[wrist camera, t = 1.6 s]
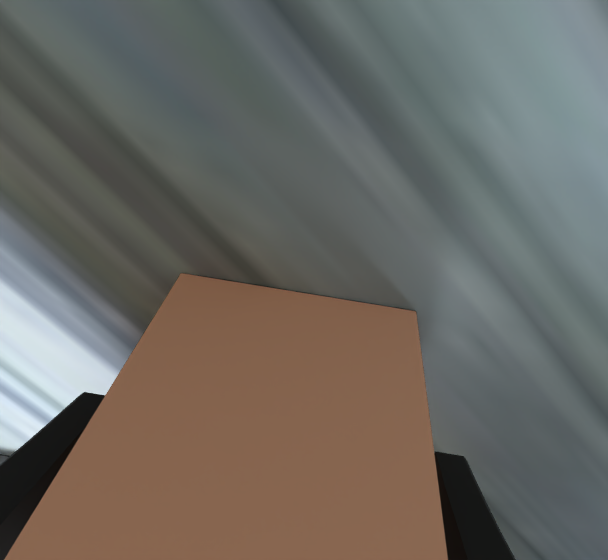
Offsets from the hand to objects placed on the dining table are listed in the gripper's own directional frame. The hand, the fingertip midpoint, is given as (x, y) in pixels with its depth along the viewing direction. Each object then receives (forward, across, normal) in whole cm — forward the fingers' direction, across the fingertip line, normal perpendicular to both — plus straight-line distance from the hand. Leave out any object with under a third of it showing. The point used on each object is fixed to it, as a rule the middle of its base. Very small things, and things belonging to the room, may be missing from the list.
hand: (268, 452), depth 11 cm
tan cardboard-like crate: (+2, 0, 0) cm, 2 cm away
